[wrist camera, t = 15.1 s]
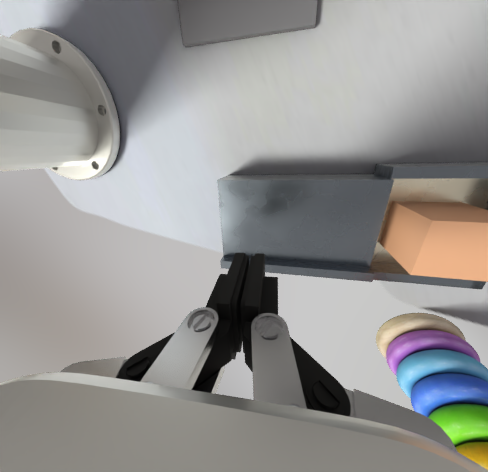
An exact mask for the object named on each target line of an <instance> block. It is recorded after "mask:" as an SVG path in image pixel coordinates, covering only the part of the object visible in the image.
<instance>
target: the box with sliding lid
mask: <svg viewBox="0 0 488 472" xmlns="http://www.w3.org/2000/svg"><path fill="white" fill-rule="evenodd" d="M217 182H218V194H219V206H220V218H221V230H222V242H223V253H224V256H223V258H222V259H221V268H226V269H229V268H230V266H231V263H232V261H233V258H234V255H235V253H245V254H246V255H249V264H250V259H251V256H255V253H261V254H265V272H270V273H281V274H292V275H304V276H314V277H326V278H337V279H347V280H359V281H369V282H372V281H373V280H383V281H394V282H405V283H416V284H428V285H439V286H450V287H461V288H473V289H482V288H483V286H484V285H485V283H486V282H485V281H474V280H463V279H452V278H440V277H429V276H418V275H410V274H409V273H408V272H407V271H406V270H405V269H404V268H403V267H402V266H401V265H400V264H399V263H398V262H397V261H396V260H395V259H394V258H393V257H392V256H391V254H390V253H389V252H388V251H387V250H386V249H385V248H384V247H383V246H382V245H381V244H380V240H381V237H382V234H383V230H384V227H385V224H386V220H387V217H388V214H389V210H390V207H391V204H392V201H414V202H455V203H466V204H469V205H472V206H476V207H479V208H482V209H486V210H488V162H466V163H408V164H376V167H375V172H374V174H304V175H228V176H226V177H223V178H221V179H219V180H217Z"/></svg>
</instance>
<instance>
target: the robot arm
mask: <svg viewBox="0 0 488 472" xmlns="http://www.w3.org/2000/svg"><path fill="white" fill-rule="evenodd" d="M119 143H120V128H119V120H118V115H117V111H116V107H115V104H114V101H113V98H112V96H111V93H110V91H109V89H108V87H107V85H106V83H105V81H104V79H103V77H102V76H101V75H100V73H99V72H98V70H97V69H96V67H95V66H94V64H93V63H92V62H91V61H90V60H89V59H88V58H87V57H86V56H85V54H84V53H83V52H82V51H80V50H79V49H78V48H77V47H75V46H74V45H73V44H72V43H70V42H68V41H66V40H64V39H63V38H61V37H59V36H57V35H55V34H53V33H50V32H48V31H45V30H43V29H36V28H27V29H22V30H19V31H17V32H16V33H14V34H13V35H11V36H10V38H8V37H5V36H3V35H1V34H0V171H12V170H25V169H38V168H49V169H50V170H52V171H53V172H55V173H57V174H59V175H61V176H63V177H66V178H69V179H74V180H87V179H93V178H97V177H100V176H101V175H103V174H105V173H106V172H107V171H108V170H109V169H110V168H111V167H112V165H113V163H114V161H115V159H116V157H117V153H118V150H119ZM242 341H243V352H244V353H245V363H246V364H247V365H248V367H249V368H250V370H251V371H252V372H253V396H254V400H250V399H244V398H238V397H232V396H225V395H219V394H216V391H217V389H218V386H219V383H220V380H221V378H222V375H223V373H224V369H225V365H226V364H227V363H229V362H230V361H231V359H235V357H236V352H240V351H241V346H242ZM0 472H488V470H487V469H485V468H484V467H482V466H481V465H479V464H477V463H475V462H474V461H472V460H470V459H469V458H467V457H465V456H463V455H462V454H460V453H458V451H457V449H456V448H455V446H454V444H453V442H452V440H451V439H450V437H449V436H448V435H447V434H446V433H445V432H444V430H443V429H442V428H441V427H440V426H439V425H437V424H436V423H435V422H434V421H432V420H431V419H430V418H428V417H426V416H424V415H422V414H420V413H418V412H415V411H412V410H410V409H407V408H404V407H402V406H399V405H396V404H394V403H391V402H388V401H385V400H383V399H380V398H377V397H375V396H372V395H369V394H367V393H364V392H361V391H359V390H356V389H354V390H353V391H350V390H347V389H345V388H343V387H342V385H341V384H340V383H339V382H338V381H337V380H336V379H335V378H334V377H333V376H331V374H329V373H328V372H327V371H326V370H325V369H324V368H323V367H322V366H321V365H320V364H319V363H317V361H315V360H314V359H313V358H312V357H311V356H310V355H309V354H308V353H307V352H306V351H305V350H303V349H302V348H301V347H300V346H299V345H298V344H297V343H296V342H295V341H294V340H293V339H292V338H291V337H290V335H289V331H288V327H287V324H286V322H285V321H284V320H283V319H282V318H281V317H280V316H278V278H277V277H265V254H261V253H255V256H251V259H250V264H249V255H246V254H245V253H235V255H234V258H233V261H232V263H231V266H230V268H229V271H228V274H220V276H219V278H218V280H217V282H216V284H215V287H214V289H213V291H212V294H211V296H210V298H209V300H208V303H207V305H206V307H203V308H198V309H196V310H194V311H192V312H191V313H189V314H188V315H187V317H186V318H185V319H184V321H183V322H182V323H181V325H180V326H179V328H178V329H177V331H176V332H175V333H173V334H171V335H169V336H167V337H166V338H164V339H162V340H160V341H158V342H156V343H155V344H153V345H151V346H149V347H148V348H146V349H144V350H142V351H140V352H138V353H137V354H135V355H133V356H132V357H130V358H129V359H126V357H119V358H111V359H102V360H94V361H84V362H78V363H74V364H72V365H70V366H68V367H66V368H64V369H63V370H62V371H61V372H47V373H39V374H33V375H27V376H23V377H19V378H15V379H11V380H8V381H4V382H2V383H0Z"/></svg>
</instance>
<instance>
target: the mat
mask: <svg viewBox="0 0 488 472" xmlns="http://www.w3.org/2000/svg"><path fill="white" fill-rule="evenodd" d="M317 1H318V0H178V7H179V16H180V24H181V32H182V40H183V45H184V46H185V47H191V46H197V45H204V44H211V43H217V42H224V41H231V40H237V39H244V38H250V37H257V36H264V35H270V34H277V33H284V32H290V31H297V30H304V29H310V28H315V24H316V12H317Z"/></svg>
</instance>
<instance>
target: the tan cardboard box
mask: <svg viewBox="0 0 488 472" xmlns="http://www.w3.org/2000/svg"><path fill="white" fill-rule="evenodd" d="M380 244H381V245H382V246H383V247H384V248H385V249H386V250H387V251H388V252H389V253H390V254H391V256H392V257H393V258H394V259H395V260H396V261H397V262H398V263H399V264H400V265H401V266H402V267H403V268H404V269H405V270H406V271H407V272H408V273H409V274H410V275H418V276H429V277H440V278H452V279H463V280H474V281H485V282H488V210H486V209H482V208H479V207H476V206H472V205H469V204H466V203H455V202H414V201H392V204H391V207H390V210H389V214H388V217H387V220H386V224H385V227H384V230H383V234H382V237H381V240H380Z"/></svg>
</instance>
